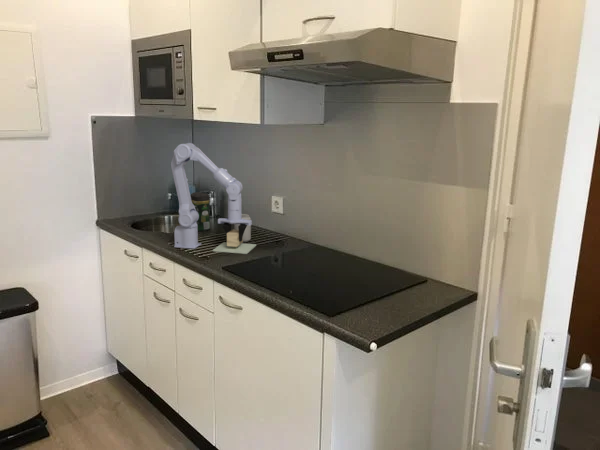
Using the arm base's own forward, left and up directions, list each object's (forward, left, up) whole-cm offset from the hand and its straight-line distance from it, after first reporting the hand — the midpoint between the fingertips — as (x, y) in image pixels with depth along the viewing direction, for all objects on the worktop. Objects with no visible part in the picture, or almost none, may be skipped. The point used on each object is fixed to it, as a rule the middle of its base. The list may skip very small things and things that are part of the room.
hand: (234, 240), depth 208 cm
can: (-1, +14, -4) cm, 14 cm away
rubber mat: (0, 0, -3) cm, 3 cm away
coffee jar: (-28, +30, -4) cm, 41 cm away
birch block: (0, 0, -2) cm, 2 cm away
